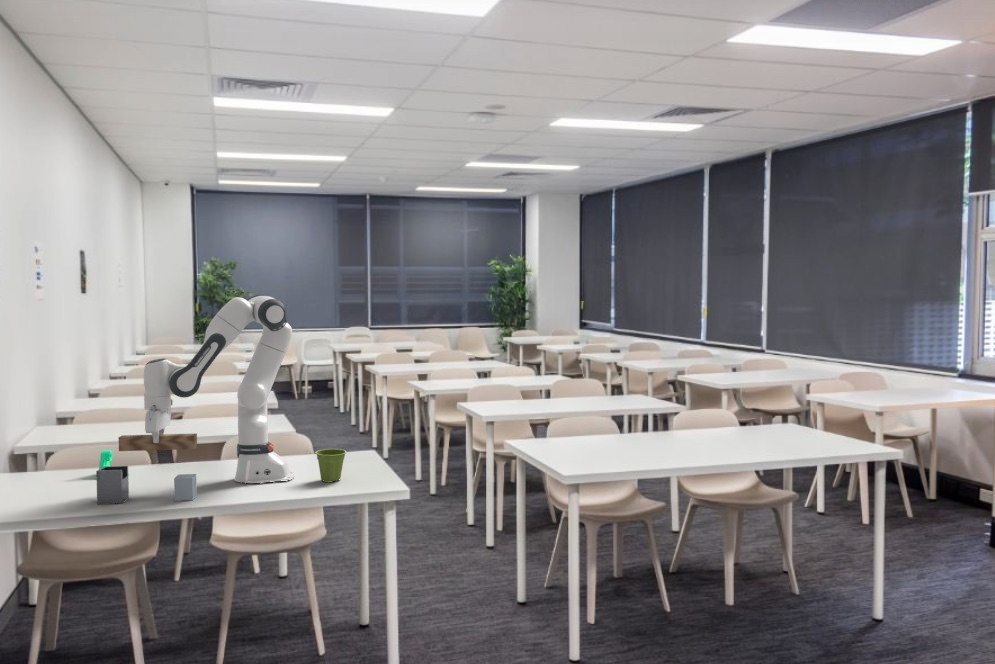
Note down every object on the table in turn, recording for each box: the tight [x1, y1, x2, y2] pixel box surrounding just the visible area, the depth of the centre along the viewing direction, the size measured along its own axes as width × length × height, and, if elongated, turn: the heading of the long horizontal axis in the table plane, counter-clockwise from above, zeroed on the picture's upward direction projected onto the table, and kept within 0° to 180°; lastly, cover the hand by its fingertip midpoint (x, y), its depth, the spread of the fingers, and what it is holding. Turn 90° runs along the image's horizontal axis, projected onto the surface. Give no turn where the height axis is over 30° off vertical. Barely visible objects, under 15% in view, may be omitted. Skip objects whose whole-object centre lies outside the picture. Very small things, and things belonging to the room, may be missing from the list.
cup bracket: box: [95, 465, 130, 505], centre depth 270 cm, size 8×8×12 cm
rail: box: [118, 433, 198, 452], centre depth 283 cm, size 26×4×5 cm, turn 98°
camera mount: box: [98, 449, 113, 470], centre depth 310 cm, size 12×8×10 cm, turn 14°
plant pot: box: [314, 448, 347, 482], centre depth 301 cm, size 12×12×11 cm
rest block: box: [173, 473, 198, 502], centre depth 274 cm, size 6×6×8 cm
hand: (158, 441), depth 283 cm, fingers closed on rail, 4 cm apart
